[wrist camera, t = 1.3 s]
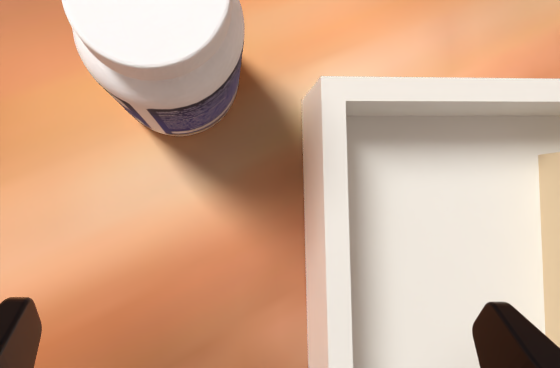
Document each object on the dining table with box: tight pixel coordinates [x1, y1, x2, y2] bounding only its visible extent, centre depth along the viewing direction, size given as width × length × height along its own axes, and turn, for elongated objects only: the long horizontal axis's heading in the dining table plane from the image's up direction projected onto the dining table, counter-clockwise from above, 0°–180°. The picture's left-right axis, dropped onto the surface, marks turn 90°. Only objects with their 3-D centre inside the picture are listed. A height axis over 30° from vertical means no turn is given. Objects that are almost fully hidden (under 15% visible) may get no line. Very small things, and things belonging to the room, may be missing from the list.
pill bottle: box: [62, 0, 244, 136], centre depth 18 cm, size 6×6×10 cm
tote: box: [302, 76, 560, 368], centre depth 22 cm, size 18×20×4 cm
